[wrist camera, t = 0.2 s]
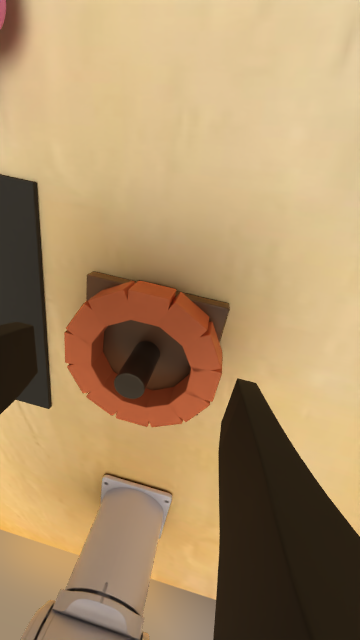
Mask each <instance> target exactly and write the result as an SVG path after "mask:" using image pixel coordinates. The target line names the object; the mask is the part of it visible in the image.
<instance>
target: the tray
mask: <svg viewBox="0 0 360 640" xmlns="http://www.w3.org/2000/svg"><path fill="white" fill-rule="evenodd" d="M13 322H20V323H24V324H28V325H32V326H34V335H35V346H36V357H37V368H38V373H37V374H36V375H35V377H34V378H33V379H32V381H31V382H30V383H29V384H28V386H27V387H26V388H25V389H24V390H23V392H22V393H21V394H20V395H19V396H18V397H17V398H16V399H15V400H19V401H23V402H26V403H30V404H33V405H37V406H40V407H44V408H47V409H49V408H50V407H51V394H50V379H49V363H48V348H47V333H46V318H45V303H44V288H43V272H42V257H41V242H40V227H39V212H38V197H37V183H36V182H33V181H28V180H23V179H19V178H14V177H9V176H5V175H0V325H3V324H8V323H13Z"/></svg>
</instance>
